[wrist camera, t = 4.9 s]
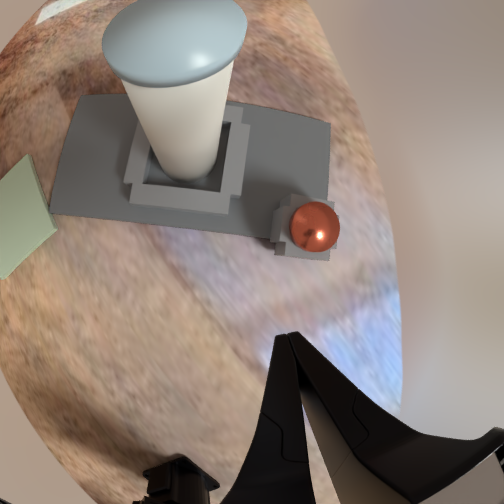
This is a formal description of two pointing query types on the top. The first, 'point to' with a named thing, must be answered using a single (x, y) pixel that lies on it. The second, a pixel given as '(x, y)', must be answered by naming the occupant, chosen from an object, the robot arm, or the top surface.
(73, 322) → the top surface
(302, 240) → the plunger
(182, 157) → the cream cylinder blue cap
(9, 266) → the green mat
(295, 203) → the grey button base board
